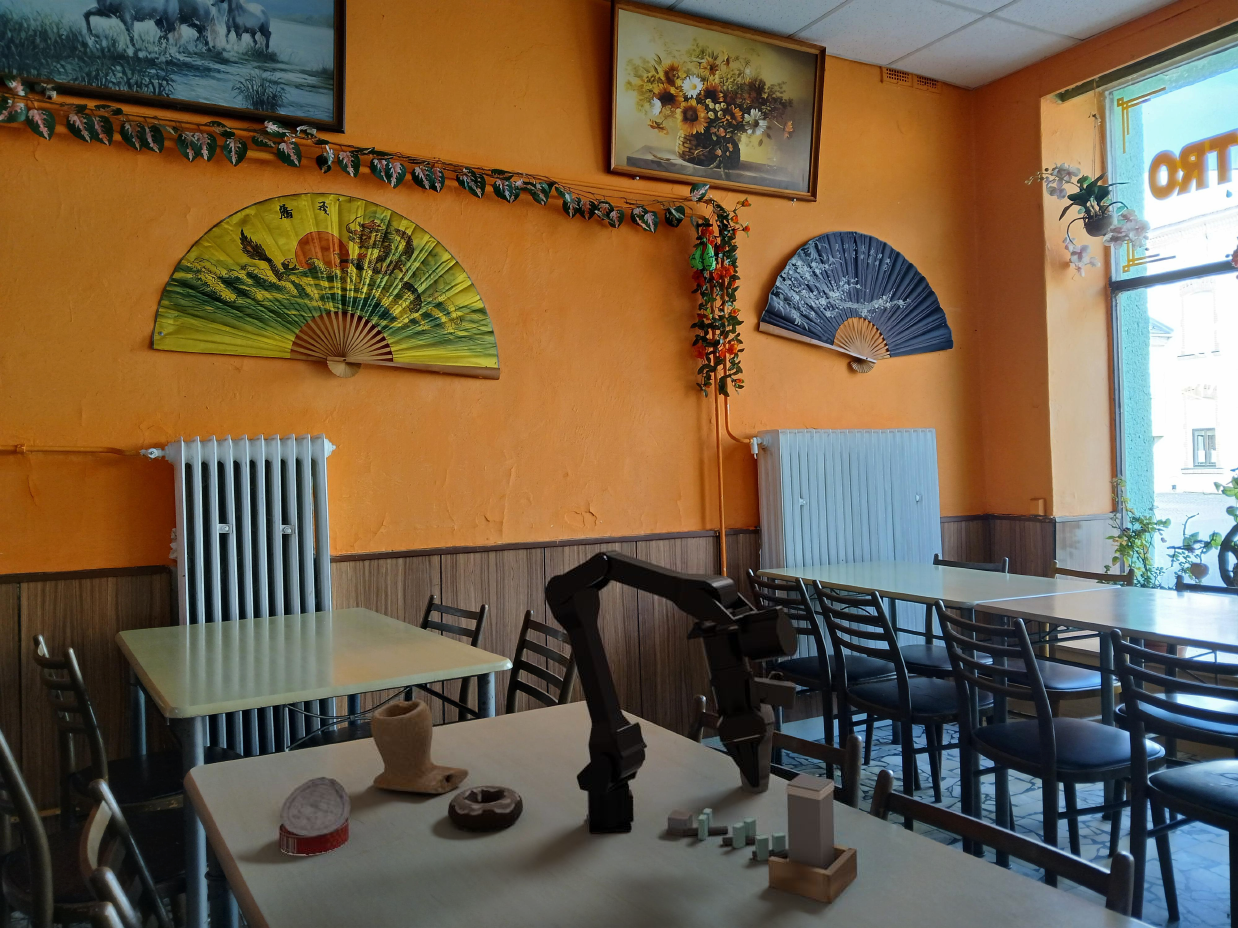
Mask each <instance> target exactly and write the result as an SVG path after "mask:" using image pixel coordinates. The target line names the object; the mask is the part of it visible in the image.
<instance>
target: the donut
mask: <svg viewBox="0 0 1238 928" xmlns="http://www.w3.org/2000/svg"><path fill="white" fill-rule="evenodd" d="M523 809H524V804H523V798H522V796H521V795H520V794H519V793H518V792H517V791H516V790H514V789H512V788H510V787H506V786H503V785H495V784H494V785H493V784H492V785H491V784H490V785H480V786H479V785H478V786H474V787H473V786H472V787H470V788H467V789H464V790H462V791H460V792H459V793H457V794H455V796H453V798H452V799H451V800H450V801H449V803H448V808H447V815H448V818H449V820H450V822H451V823H452V824H453V825H454V826H455V827H457V828H459V829H462V830H464V829H465V831H468V830H469V831H468V832H476V831H479V832H490V830H492V831H496V829H497V830H500V828H501V829H504V828H506V827H509V826H510V825H512V824H514V823H515V822H516V821H517V820H518V819H519V818H520V817H521V815H522V813H523V811H524V810H523Z"/></svg>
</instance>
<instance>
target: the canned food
mask: <svg viewBox="0 0 1238 928" xmlns="http://www.w3.org/2000/svg"><path fill="white" fill-rule="evenodd" d="M284 799H285V800H284V802H283V805H282V807H281V809H280V820H281V823H280V825H279V827H278V831H279V834H278V835H279V838H278V839H279V840H278V842H279V847H280V848H281V849H282V850H283V851H285V852H287V853H292V854H306V855H309V854H316V853H322V852H327V851H329V850H333V849H335V848H338V847H340V846H341V845H343V844H344V845H345V844H346V843H345V842H347V843H348V841H349V840H348V838H350V835H349V834H350V830H349V829H350V828H349V827H350V824H349V814H350V811H351V809H352V808H351V801H350V796H349V795H348V793H347V791H346V790H345V787H344V786H343V785H342V784H341V783H340V782H339V781H337V780H336V779H334V778H329V777H325V776H322V777H321V776H320V777H315V778H311V779H308V780H307V781H306V782H304V783H302V784H301V785H299V786H297V787H296V788H295V789H293V791H292V792H291V793H290V794H289V795H288V796H287V797H286V798H284ZM347 840H348V841H347ZM344 845H343V846H344ZM341 847H342V846H341ZM341 847H340V848H341ZM280 848H279V849H280ZM338 849H339V848H338ZM333 851H334V850H333Z"/></svg>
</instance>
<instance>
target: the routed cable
mask: <svg viewBox="0 0 1238 928" xmlns="http://www.w3.org/2000/svg"><path fill="white" fill-rule="evenodd" d="M728 833H729V826H728V825H718V826H717V825H716V826H713V825H712V827H708V835H713V834H714V835H715V834H717V835H718V834H728ZM684 835H687V836H698V826H697V827H693V828H687V830H686V829H683V835H682V836H684ZM760 835H761V834H756V835H752V836H745V844H755V836H760ZM721 840H722V841H721V842H722V845H723V846H725V845H727V846H728V845H733V836H726V837H725V836H722V838H721ZM751 856H752V857H751V858H752V859H756V858H757V852H756V851H755V850H751ZM772 856H773V857H779V858H784V857H789V855H788V848H786V849H785V850H781V851H778V852H775V850H774V849H772V848H771V849H769V858H770V857H772Z"/></svg>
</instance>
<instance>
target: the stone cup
mask: <svg viewBox="0 0 1238 928" xmlns="http://www.w3.org/2000/svg"><path fill="white" fill-rule="evenodd" d="M370 731H371V734H372V735H371V736H372V739H373V741H374V743H375V746H376V748H377V750H378V752H379V755H380V757H381V760H382V763H383V765H384V770H383V771H382V772H381V773H380V774H378V775H377V776H376V777H375V778H374V779H373V782H372V783H373V785H374V786H375V787H377V788H380V789H385V790H392V791H400V792H410V793H411V792H413V793H421V794H422V793H423V794H444V793H448V792H450V791H451V790H453V789H455V788H457V787H458V786H460V784H462V783H463V782H464V781H465V780H466V779H467V777H468V776H469V774H470V772H469V770H468V769H467V768H460V767H452V766H451V767H450V766H444V765H438V764H434V762H433V761H432V758H431V757H432V756H431V751H432V742H433V741H432V740H433V715H432V711H431V709H430V707H429V706H428V705H427V703H425V702H424V701H423V700H421V699H413V700H410V701H403V700H400V701H399V700H398V701H394V702H391V703H388V704H385V705H384V706H381V707H380V708H378V709H376V710H375V711H374V712H373V713H372V715H371V717H370Z"/></svg>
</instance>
